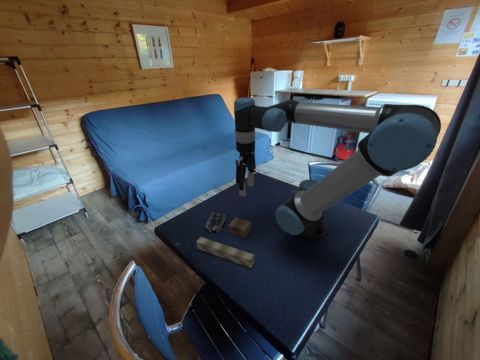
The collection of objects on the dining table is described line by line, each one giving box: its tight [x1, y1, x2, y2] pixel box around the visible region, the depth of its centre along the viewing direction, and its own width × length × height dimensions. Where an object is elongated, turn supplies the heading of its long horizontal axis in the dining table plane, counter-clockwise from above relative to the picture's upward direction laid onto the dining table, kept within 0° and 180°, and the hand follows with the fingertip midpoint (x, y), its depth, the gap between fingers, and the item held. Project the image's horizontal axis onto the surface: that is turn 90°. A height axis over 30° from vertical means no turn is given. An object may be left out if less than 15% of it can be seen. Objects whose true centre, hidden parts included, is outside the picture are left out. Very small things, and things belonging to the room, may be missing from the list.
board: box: [195, 236, 255, 269], centre depth 88 cm, size 24×3×4 cm, turn 64°
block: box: [228, 216, 253, 240], centre depth 99 cm, size 8×6×5 cm
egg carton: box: [205, 211, 226, 234], centre depth 104 cm, size 11×8×4 cm
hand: (246, 190), depth 98 cm, fingers open, 8 cm apart
